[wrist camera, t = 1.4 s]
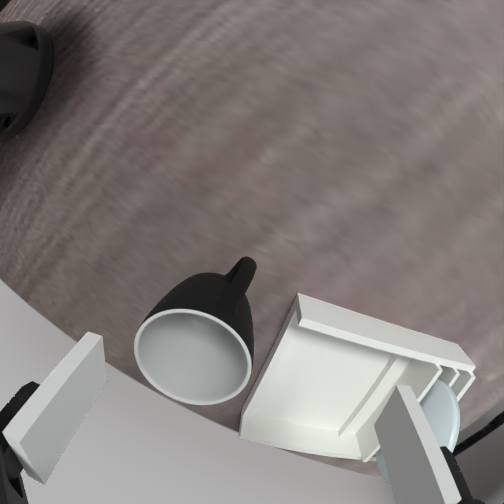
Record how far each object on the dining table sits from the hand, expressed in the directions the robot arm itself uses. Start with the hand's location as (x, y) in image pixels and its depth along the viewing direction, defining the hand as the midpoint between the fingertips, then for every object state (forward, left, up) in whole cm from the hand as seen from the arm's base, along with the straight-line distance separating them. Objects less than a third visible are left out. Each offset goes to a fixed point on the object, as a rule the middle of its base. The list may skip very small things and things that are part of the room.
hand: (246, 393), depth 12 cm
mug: (-2, -5, -18) cm, 19 cm away
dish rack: (+16, -11, -18) cm, 26 cm away
